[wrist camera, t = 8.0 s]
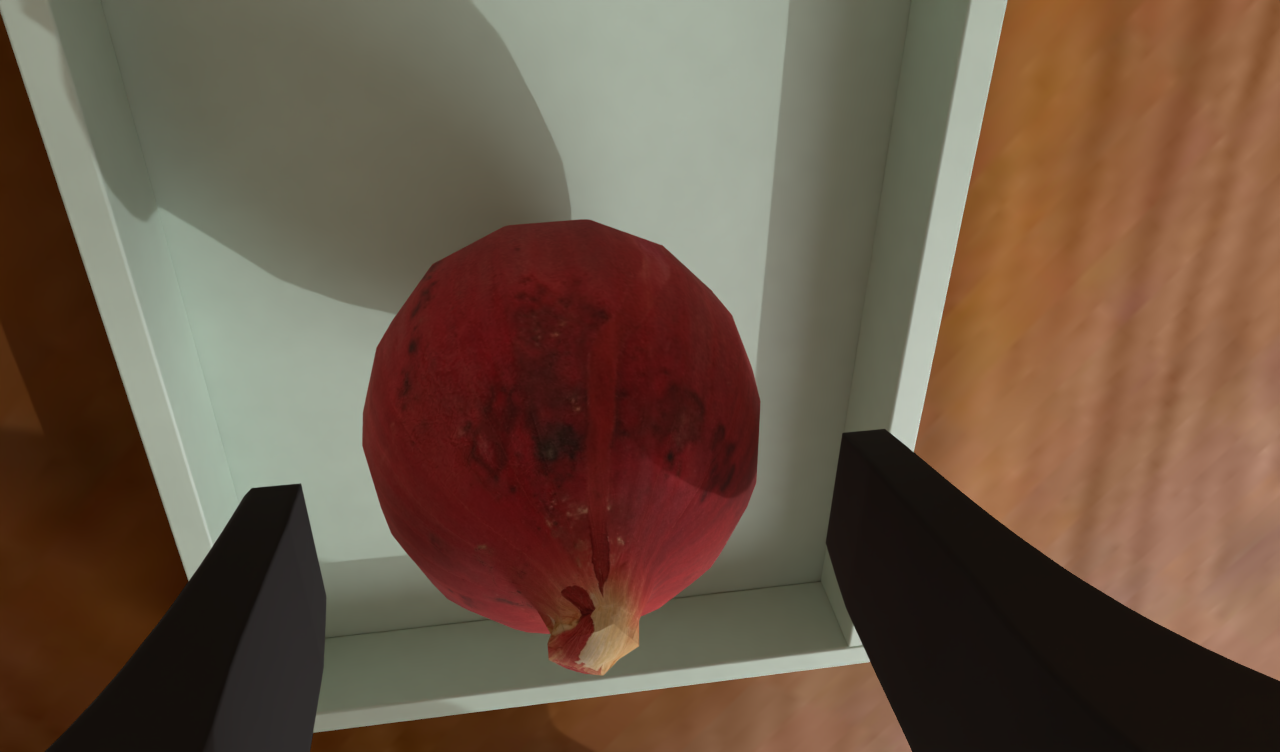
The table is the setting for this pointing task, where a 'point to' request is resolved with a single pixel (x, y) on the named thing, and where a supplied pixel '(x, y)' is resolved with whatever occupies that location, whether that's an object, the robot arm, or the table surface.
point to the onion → (563, 432)
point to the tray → (473, 208)
